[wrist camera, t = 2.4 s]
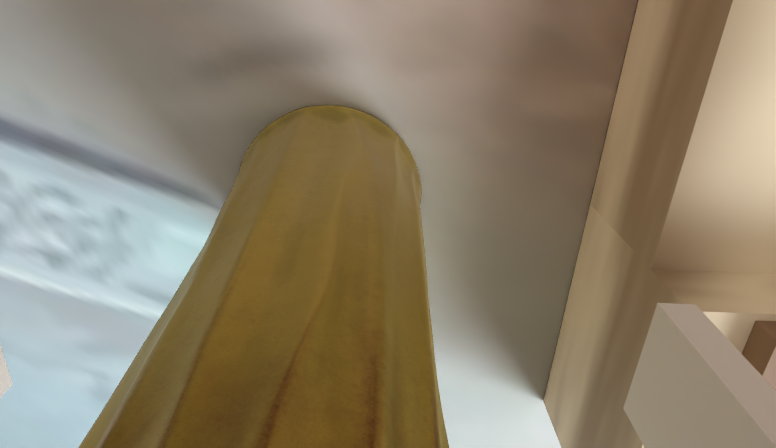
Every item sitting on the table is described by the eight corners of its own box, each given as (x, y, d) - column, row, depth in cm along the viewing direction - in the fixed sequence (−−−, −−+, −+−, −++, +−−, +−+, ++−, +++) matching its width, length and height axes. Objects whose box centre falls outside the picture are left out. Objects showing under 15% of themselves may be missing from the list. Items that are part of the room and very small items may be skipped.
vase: (202, 190, 18) (-214, 730, 5) (328, 61, 16) (169, 389, 4) (333, 299, 20) (262, 886, 7) (457, 193, 18) (654, 713, 6)
